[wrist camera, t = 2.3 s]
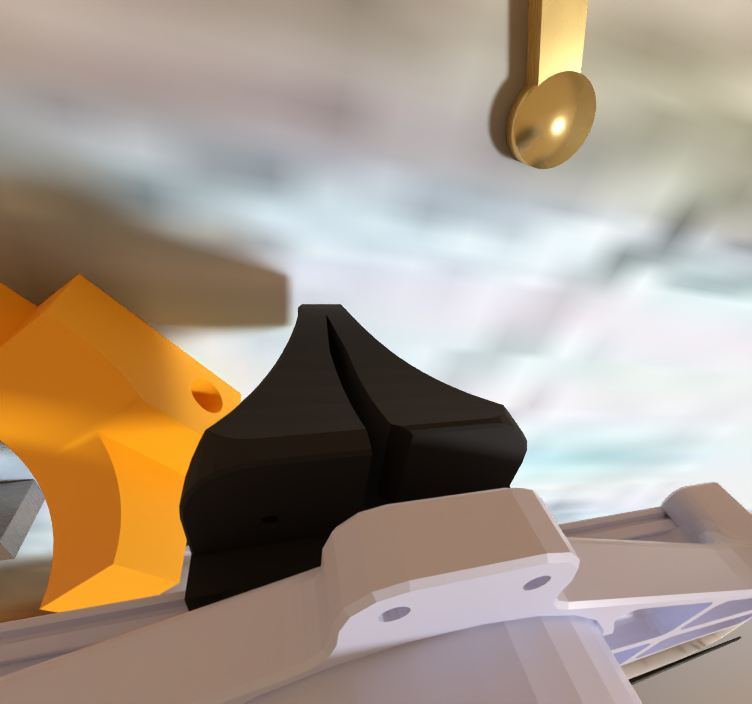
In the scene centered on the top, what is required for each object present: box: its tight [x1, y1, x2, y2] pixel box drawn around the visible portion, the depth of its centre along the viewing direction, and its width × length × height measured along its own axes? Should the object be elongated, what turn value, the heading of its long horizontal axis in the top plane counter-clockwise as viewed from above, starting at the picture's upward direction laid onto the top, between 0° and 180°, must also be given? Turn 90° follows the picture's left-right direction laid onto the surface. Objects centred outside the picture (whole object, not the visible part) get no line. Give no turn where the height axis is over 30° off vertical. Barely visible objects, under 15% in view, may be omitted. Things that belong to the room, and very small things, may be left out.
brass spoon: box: [506, 0, 596, 169], centre depth 10 cm, size 6×2×1 cm, turn 13°
